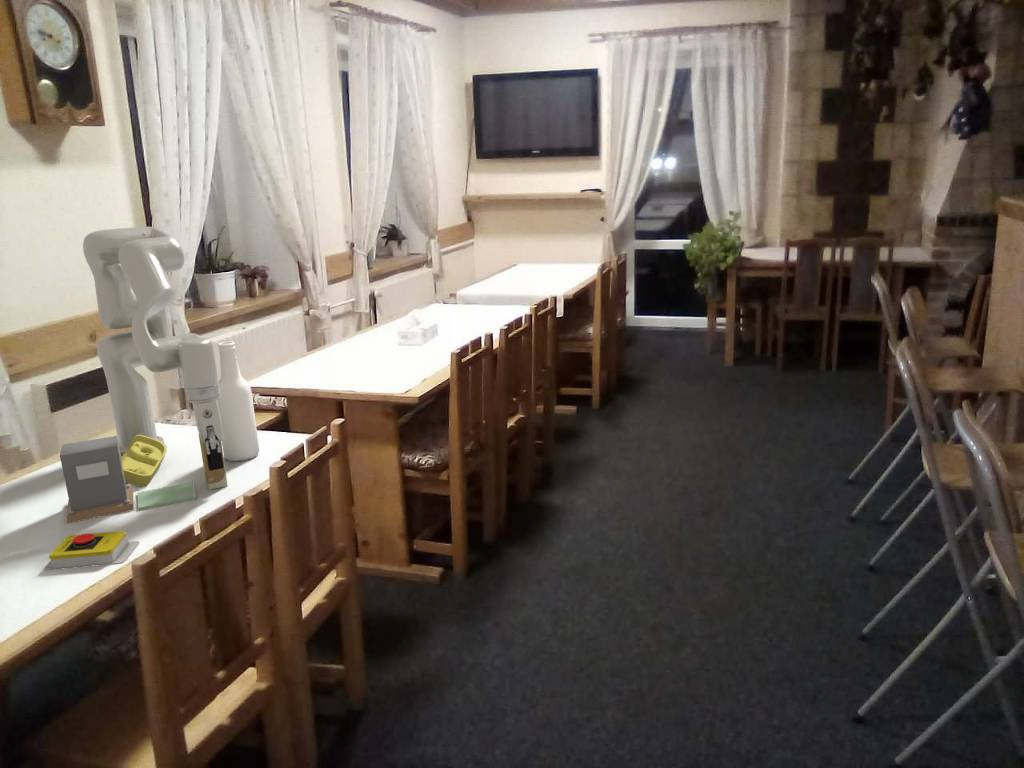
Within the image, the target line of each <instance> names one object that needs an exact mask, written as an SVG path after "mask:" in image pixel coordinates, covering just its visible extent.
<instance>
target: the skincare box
mask: <svg viewBox="0 0 1024 768" xmlns="http://www.w3.org/2000/svg"><path fill="white" fill-rule="evenodd" d="M207 433H208V432H207ZM198 438H199V440H198V441H199V445H200V452H201V459H202V465H203V466H202V467H203V472H204V478H205V484H206V486H207V488H208V490H210V491H211V490H215V489H219V488H225V487H228V486H229V485H228V484H229V483H228V479H227V477H228V476H227V473H226V472H227V470H226V466H225V465H226V464H225V457H224V453H223V446H222V441H221V440H220V441H219V439H218V442H219V447H220V451H221V453H222V459H223V466H224V467H223V468H222V469H217V470H212V471H210V470H209V468H208V462H207V455H206V454H207V449H206V444H203V443H202V441H201V438H200V435H199V434H198ZM206 439H207V438H206ZM215 439H216V437H215ZM207 441H208V440H207Z"/></svg>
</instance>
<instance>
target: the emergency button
mask: <svg viewBox="0 0 1024 768" xmlns="http://www.w3.org/2000/svg"><path fill="white" fill-rule="evenodd" d="M139 545H140V541H138V540H131V541H129V540H128V536H127V533H126V531H125V530H117V531H108V532H107V531H106V532H94V533H82V534H72V535H71V534H70V535H68V536H66V537H65V538H64V540H62V541H61V543H60V544H59V545H57V547H55V549H54V550H53V551H52V552H51V553H50V554H49V559H50V560H49V561H48V562H47V563H46V564H45V566H44V567H43V570H44V571H53V570H54V569H55V570H63V569H62V568H66V569H74V568H73V567H77V568H85V567H84V566H89V567H93V566H92V565H100V566H108V565H107V564H111V565H119V564H118V563H120V564H123V562H124V563H125V561H126V562H127V561H128V559H129V558H130V557H131V555H132V554H133V553H134V552H135V550H136V549H137V547H138V546H139ZM129 556H130V557H129ZM128 557H129V558H128ZM55 570H54V571H55Z"/></svg>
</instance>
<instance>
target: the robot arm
mask: <svg viewBox="0 0 1024 768" xmlns="http://www.w3.org/2000/svg"><path fill="white" fill-rule="evenodd" d="M82 250H83V251H82V252H83V256H84V259H85V261H86V264H87V265H88V267H89V269H90V271H91V274H92V276H93V280H94V288H95V295H96V302H97V309H98V315H99V320H100V322H101V324H102V326H103V327H104V328H106V329H109V330H123V329H128V328H129V329H130V328H131V330H126V331H121V332H115V333H112V334H109V335H105V336H104V337H102V338H101V339H100V340H99V341H98V343H97V346H96V353H97V356H98V358H99V362H100V363H101V364H100V365H101V367H102V369H103V373H104V375H105V380H106V384H107V389H108V393H109V399H110V404H111V410H112V415H113V420H114V421H113V422H114V426H115V430H116V436H117V437H118V443H119V448H120V453H121V456H123V455H124V453H125V452H126V450H127V448H128V447H129V445H130V443H131V442H132V440H133V438H134V437H135V436H136V435H143V436H147V437H150V438H153V439H156V440H158V441H160V442H162V443H163V444H164V443H165V440H164V438H163V437H162V436H158V435H157V429H156V423H155V417H154V413H153V406H152V401H151V395H150V390H149V384H148V382H147V379H146V378H145V377H144V376H143V375H142V374H141V373H139V372H138V371H137V370H136V368H137V367H140V366H145V367H146V369H148V370H149V371H150V372H152V373H163V372H169V371H173V370H177V369H178V370H179V369H180V371H181V377H182V383H183V384H182V385H183V388H184V394H185V401H186V402H187V403H189V404H192V408H193V414H194V419H195V424H196V428H197V432H198V436H199V435H200V438H201V441H202V443H203V444H206V449H207V454H206V455H207V462H208V468H209V470H210V471H212V470H217V469H222V468H223V467H224V466H223V459H222V453H221V451H220V447H219V442H218V439H219V441H220V440H221V442H222V441H224V435H223V429H222V423H221V417H220V411H219V406H218V402H217V399H219V398H220V397H221V392H220V386H219V381H220V379H219V372H218V367H217V361H216V355H215V347H214V343H213V341H212V340H211V339H210V338H205V337H202V336H201V335H200V334H198V333H193V332H191V333H184V334H180V335H173V336H169V326H168V318H167V316H168V315H167V309H166V308H167V307H168V306H170V304H171V303H174V300H175V298H176V296H177V295H176V291H175V289H174V287H173V284H172V283H171V280H170V278H169V276H168V274H167V273H168V272H176V271H177V272H178V271H180V270H181V269H182V268H183V267H184V265H185V255H184V251H183V248H182V246H181V245H180V243H179V242H178V241H177V239H176V238H175V237H173V236H172V235H170V234H168V233H166V232H165V231H163V230H160V229H159V228H156V227H154V226H136V227H127V228H126V227H125V228H112V229H110V228H108V229H102V230H96V231H93V232H90V233H88V234H87V235H86V236H84V239H83V242H82ZM207 432H208V433H207ZM215 437H216V439H215ZM206 438H207V439H206ZM207 440H208V441H207ZM164 445H165V444H164Z"/></svg>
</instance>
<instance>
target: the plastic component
mask: <svg viewBox="0 0 1024 768" xmlns="http://www.w3.org/2000/svg"><path fill="white" fill-rule="evenodd" d="M167 451H168V447H167V446H166V445H165V444H163V443H162V442H160V441H158V440H156V439H153V438H150V437H147V436H143V435H136V436H135V437H134V438H133V440H132V442H131V443H130V445H129V447H128V448H127V450H126V452H125V453H124V455H121V459H122V464H123V469H124V475H125V480H126V484H129V485H132V486H133V485H134V486H137V487H145V486H147V485H149V484H150V483H151V482H152V480H153V479H154V477H155V476H156V473H157V472H158V471H159V469H160V467H161V464H162V462H163V461H164V458H165V456H166V455H167Z"/></svg>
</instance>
